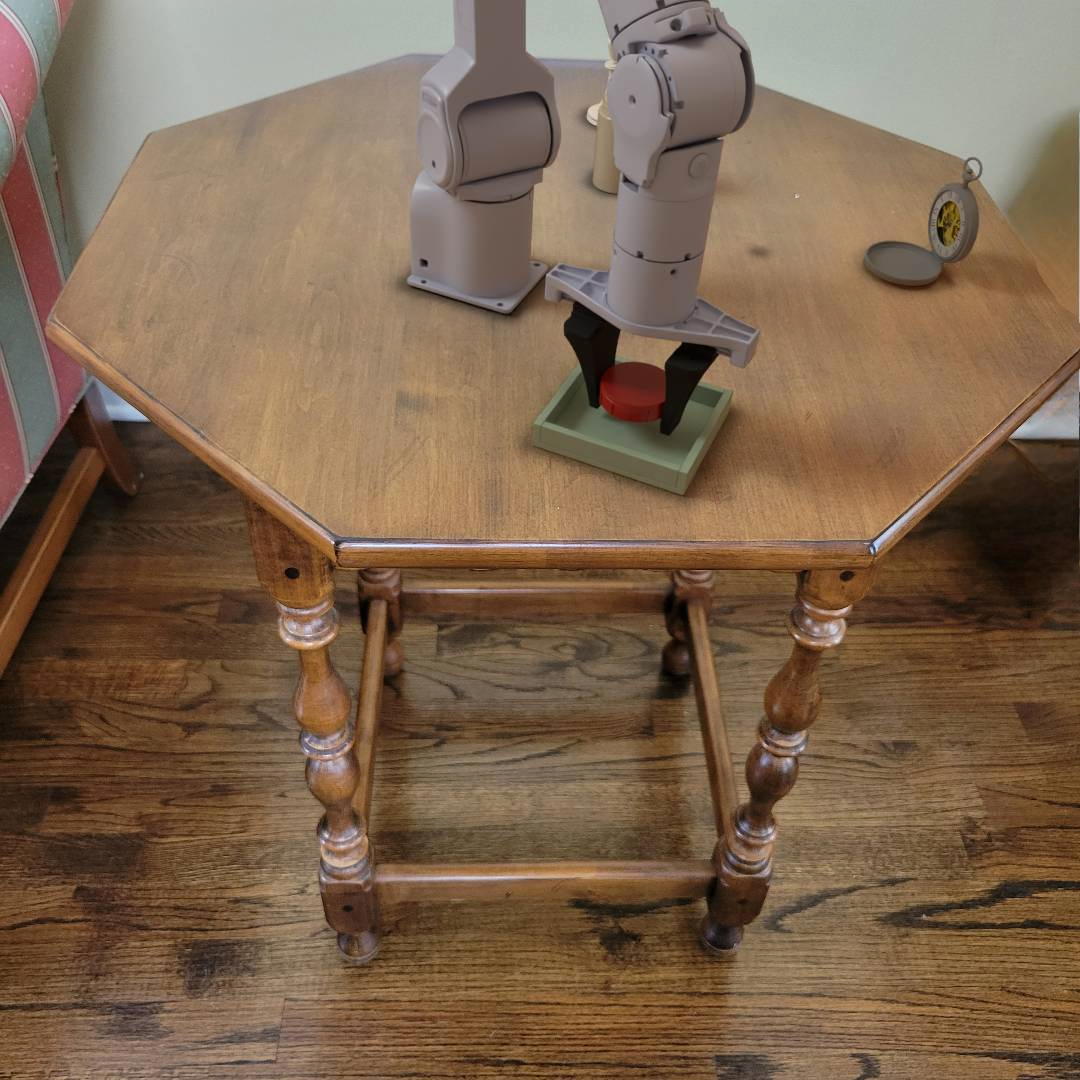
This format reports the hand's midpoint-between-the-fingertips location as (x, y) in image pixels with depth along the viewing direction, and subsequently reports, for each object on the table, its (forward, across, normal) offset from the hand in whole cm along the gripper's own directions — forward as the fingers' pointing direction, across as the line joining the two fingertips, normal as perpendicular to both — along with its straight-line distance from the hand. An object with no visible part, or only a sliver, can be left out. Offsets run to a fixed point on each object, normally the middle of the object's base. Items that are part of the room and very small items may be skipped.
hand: (635, 413), depth 75 cm
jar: (+1, +18, -33) cm, 38 cm away
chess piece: (+2, +25, -46) cm, 52 cm away
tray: (+1, 0, 0) cm, 1 cm away
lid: (-2, 0, 0) cm, 2 cm away
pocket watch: (+2, -11, -34) cm, 35 cm away
